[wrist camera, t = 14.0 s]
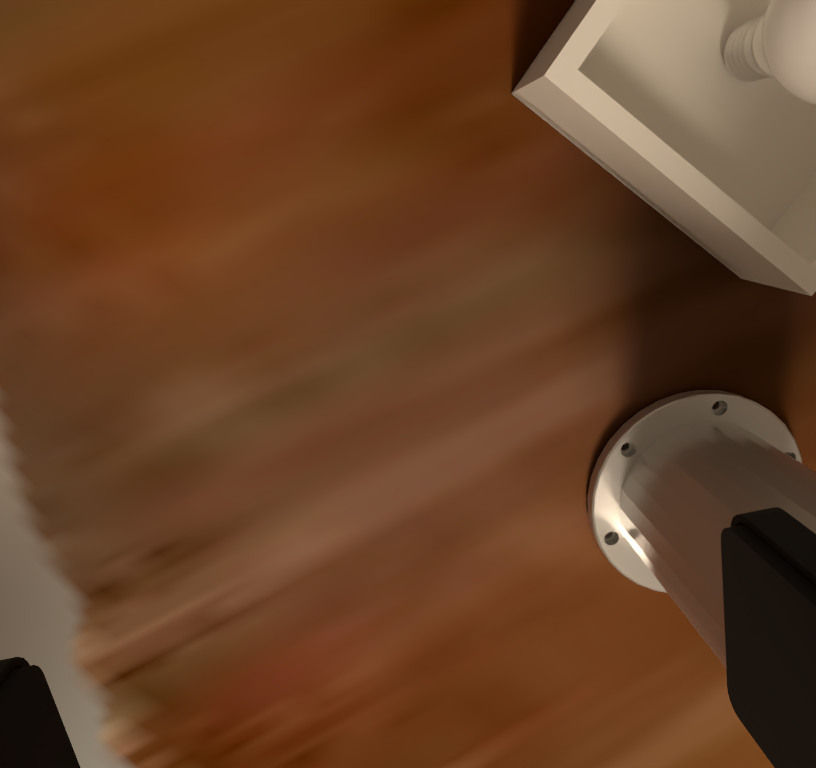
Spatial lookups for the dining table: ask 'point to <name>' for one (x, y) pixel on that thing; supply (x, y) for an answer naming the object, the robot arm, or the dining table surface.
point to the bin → (687, 128)
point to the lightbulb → (777, 48)
